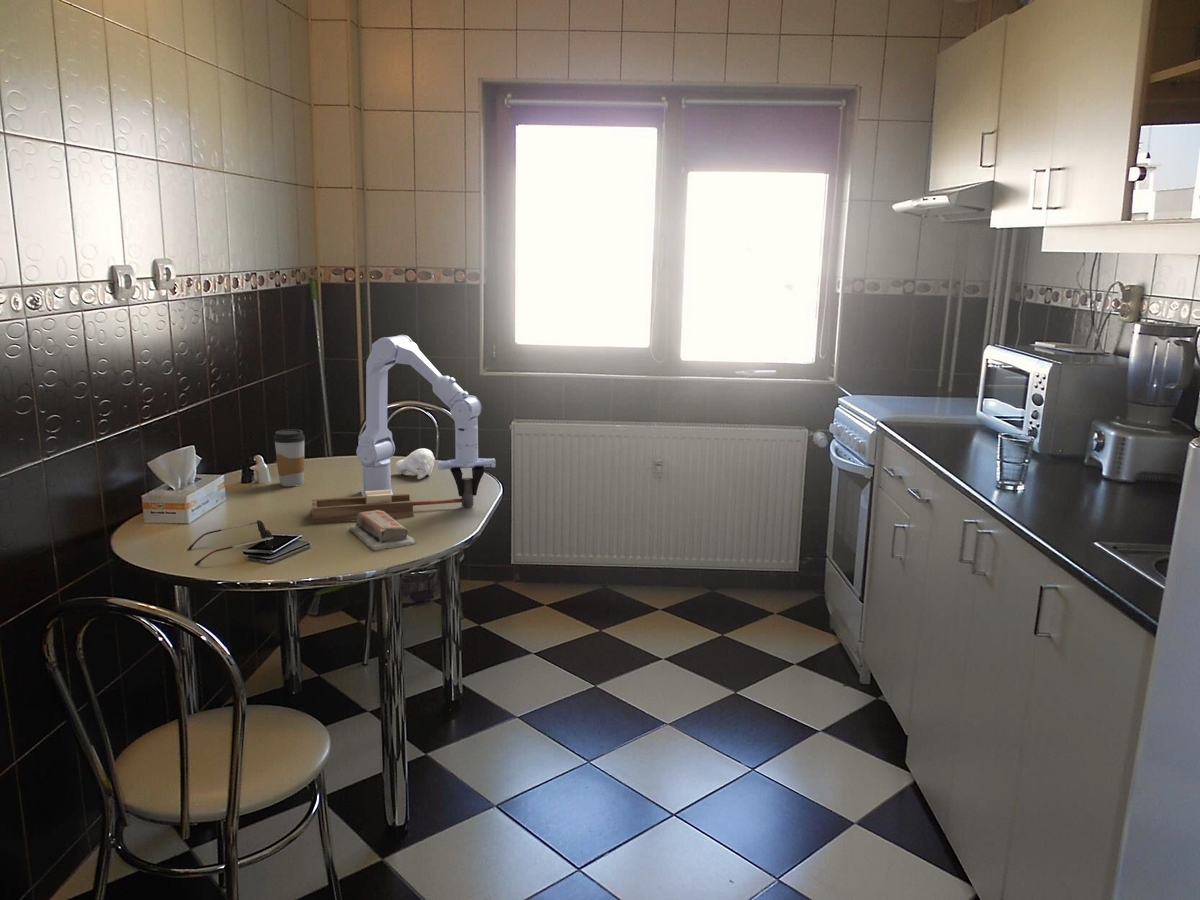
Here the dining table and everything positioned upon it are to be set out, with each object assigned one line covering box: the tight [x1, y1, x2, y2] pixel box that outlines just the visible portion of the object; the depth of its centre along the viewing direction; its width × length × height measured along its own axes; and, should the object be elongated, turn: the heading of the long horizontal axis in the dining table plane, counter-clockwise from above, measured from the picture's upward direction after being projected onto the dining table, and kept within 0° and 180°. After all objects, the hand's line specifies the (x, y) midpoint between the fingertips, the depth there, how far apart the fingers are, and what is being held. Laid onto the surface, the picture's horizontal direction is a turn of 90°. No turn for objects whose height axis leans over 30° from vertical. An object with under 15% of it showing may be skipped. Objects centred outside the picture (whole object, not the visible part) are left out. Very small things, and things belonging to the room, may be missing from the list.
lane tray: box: [311, 493, 414, 524], centre depth 226 cm, size 10×24×4 cm, turn 108°
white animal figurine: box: [394, 447, 436, 479], centre depth 264 cm, size 6×8×12 cm
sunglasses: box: [186, 519, 274, 566], centre depth 197 cm, size 14×16×5 cm
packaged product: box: [349, 510, 417, 551], centre depth 209 cm, size 18×5×10 cm
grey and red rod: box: [365, 477, 474, 508], centre depth 230 cm, size 5×27×7 cm, turn 108°
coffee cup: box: [273, 428, 306, 487], centre depth 251 cm, size 8×8×15 cm
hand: (467, 495), depth 233 cm, fingers closed on grey and red rod, 3 cm apart
